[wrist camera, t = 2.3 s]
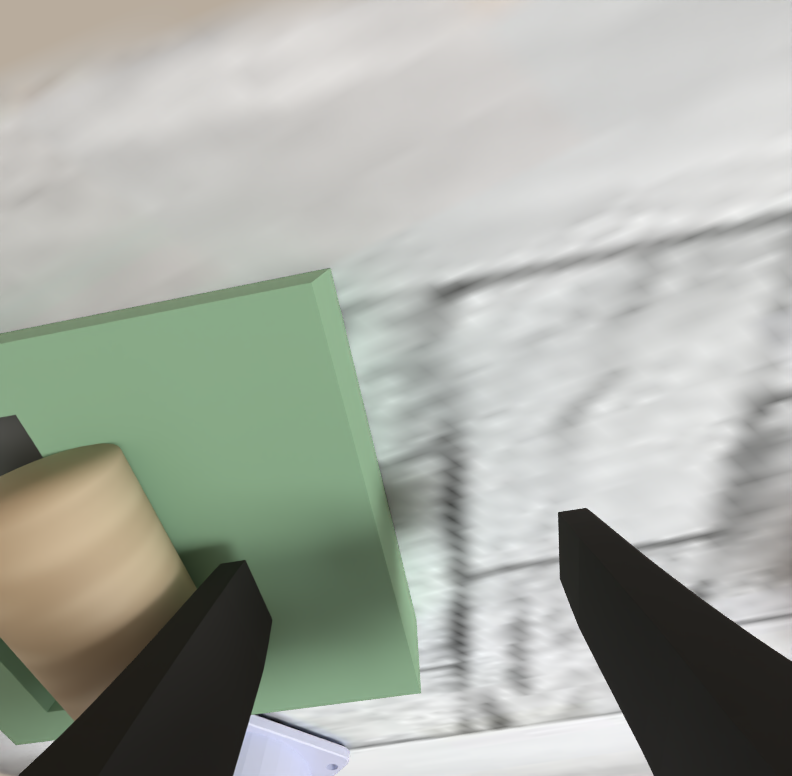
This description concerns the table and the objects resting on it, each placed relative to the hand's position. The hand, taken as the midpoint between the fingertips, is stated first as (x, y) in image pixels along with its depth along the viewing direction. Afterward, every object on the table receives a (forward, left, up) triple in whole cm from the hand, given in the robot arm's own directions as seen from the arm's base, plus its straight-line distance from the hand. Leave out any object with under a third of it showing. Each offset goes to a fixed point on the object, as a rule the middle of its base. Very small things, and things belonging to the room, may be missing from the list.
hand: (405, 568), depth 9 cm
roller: (-5, +5, 0) cm, 7 cm away
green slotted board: (-5, +5, -3) cm, 8 cm away
